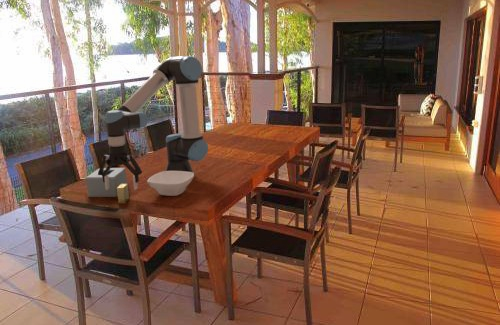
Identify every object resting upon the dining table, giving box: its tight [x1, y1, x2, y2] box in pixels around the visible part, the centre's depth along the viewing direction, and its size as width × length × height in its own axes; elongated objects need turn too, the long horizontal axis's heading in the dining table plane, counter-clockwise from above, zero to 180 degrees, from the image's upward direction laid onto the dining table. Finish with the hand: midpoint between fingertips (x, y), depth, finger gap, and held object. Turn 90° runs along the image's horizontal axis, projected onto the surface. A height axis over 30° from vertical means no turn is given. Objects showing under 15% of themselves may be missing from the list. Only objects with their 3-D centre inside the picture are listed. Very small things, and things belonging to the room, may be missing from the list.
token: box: [117, 183, 130, 204], centre depth 207 cm, size 3×6×8 cm, turn 176°
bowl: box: [146, 170, 195, 197], centre depth 215 cm, size 21×21×9 cm
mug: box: [101, 157, 123, 168], centre depth 242 cm, size 10×14×12 cm
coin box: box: [85, 167, 128, 198], centre depth 222 cm, size 14×16×10 cm
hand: (121, 188), depth 207 cm, fingers open, 13 cm apart
